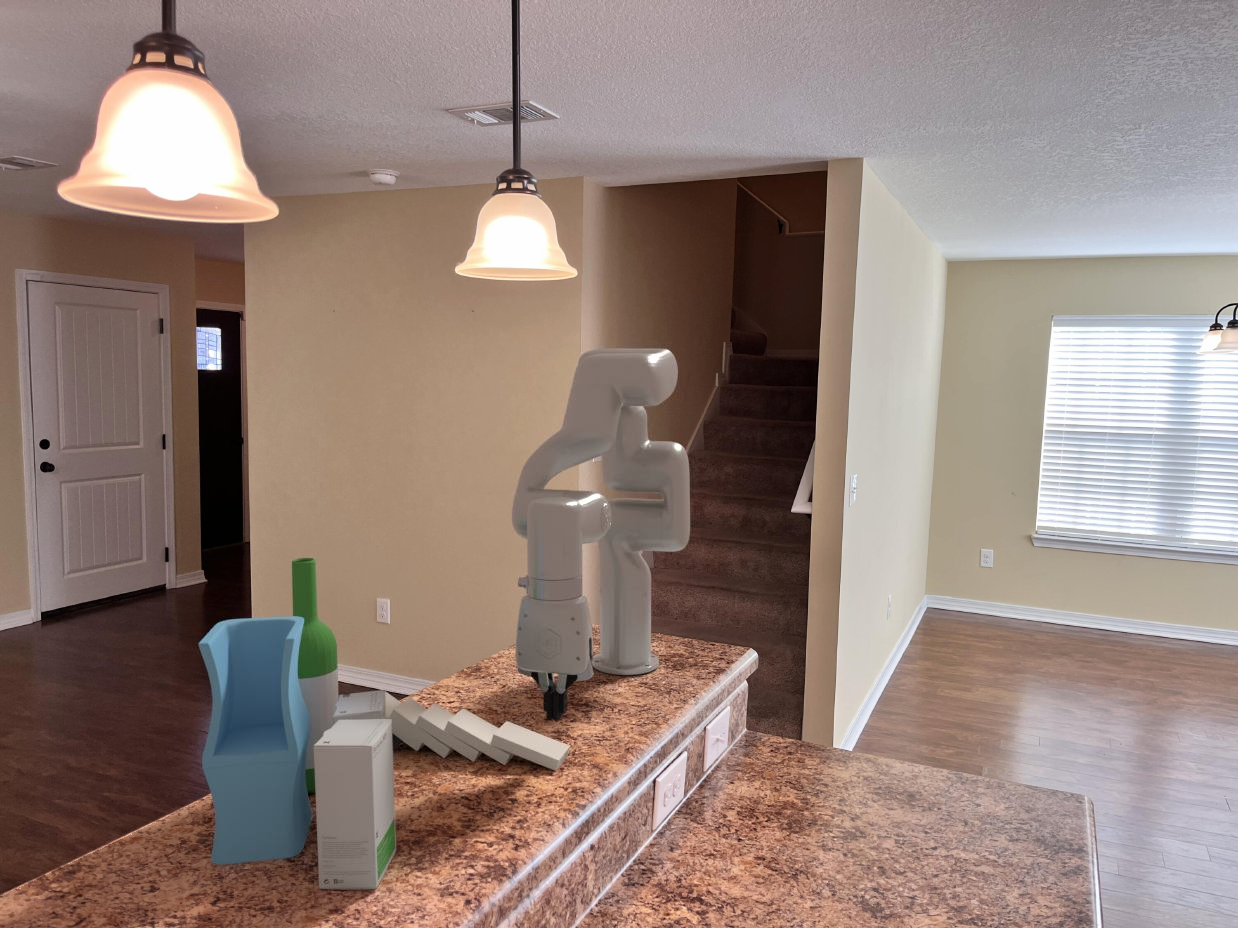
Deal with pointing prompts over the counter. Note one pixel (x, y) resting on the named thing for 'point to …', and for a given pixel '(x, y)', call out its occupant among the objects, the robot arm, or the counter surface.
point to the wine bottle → (314, 660)
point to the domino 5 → (530, 745)
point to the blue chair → (256, 740)
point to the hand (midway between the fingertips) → (555, 716)
